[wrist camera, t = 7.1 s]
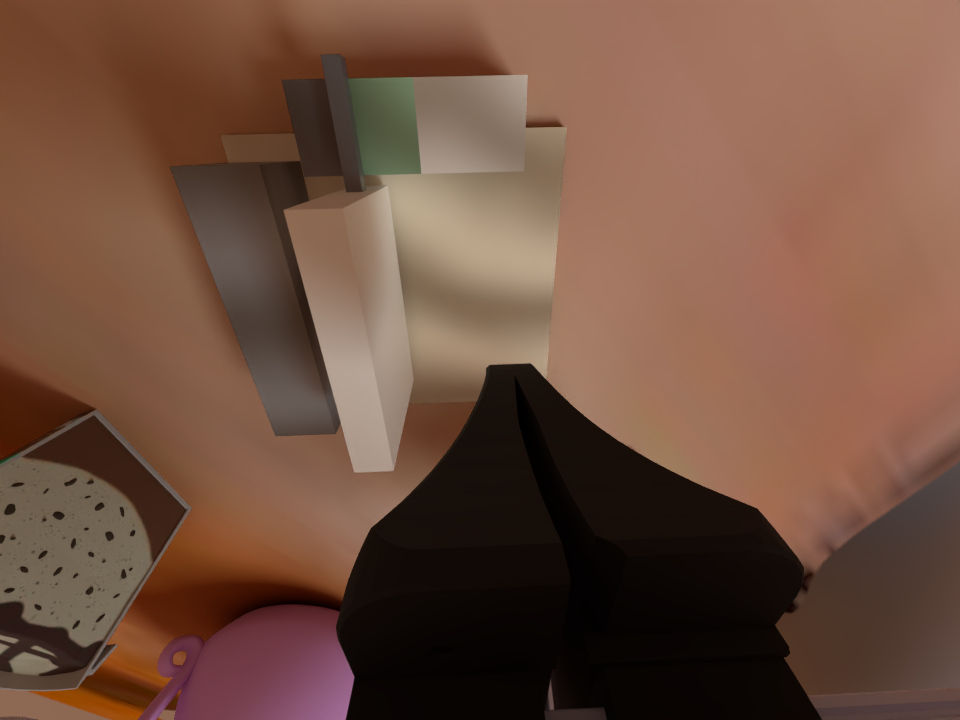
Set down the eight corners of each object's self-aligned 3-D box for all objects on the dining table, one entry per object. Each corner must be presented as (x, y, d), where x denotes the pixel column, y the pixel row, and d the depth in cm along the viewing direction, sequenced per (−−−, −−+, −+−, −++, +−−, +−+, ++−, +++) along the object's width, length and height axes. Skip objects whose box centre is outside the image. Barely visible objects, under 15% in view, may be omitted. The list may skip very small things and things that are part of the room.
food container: (-14, 410, 22) (-326, 582, 13) (77, 389, 21) (-186, 553, 13) (130, 535, 28) (-19, 709, 19) (204, 521, 28) (85, 692, 19)
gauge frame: (543, 395, 23) (557, 439, 19) (309, 404, 22) (281, 450, 19) (568, 83, 15) (598, 64, 12) (211, 91, 15) (133, 74, 11)
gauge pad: (413, 379, 21) (393, 470, 15) (385, 380, 21) (354, 472, 15) (372, 68, 14) (304, 11, 8) (329, 69, 14) (229, 12, 8)
